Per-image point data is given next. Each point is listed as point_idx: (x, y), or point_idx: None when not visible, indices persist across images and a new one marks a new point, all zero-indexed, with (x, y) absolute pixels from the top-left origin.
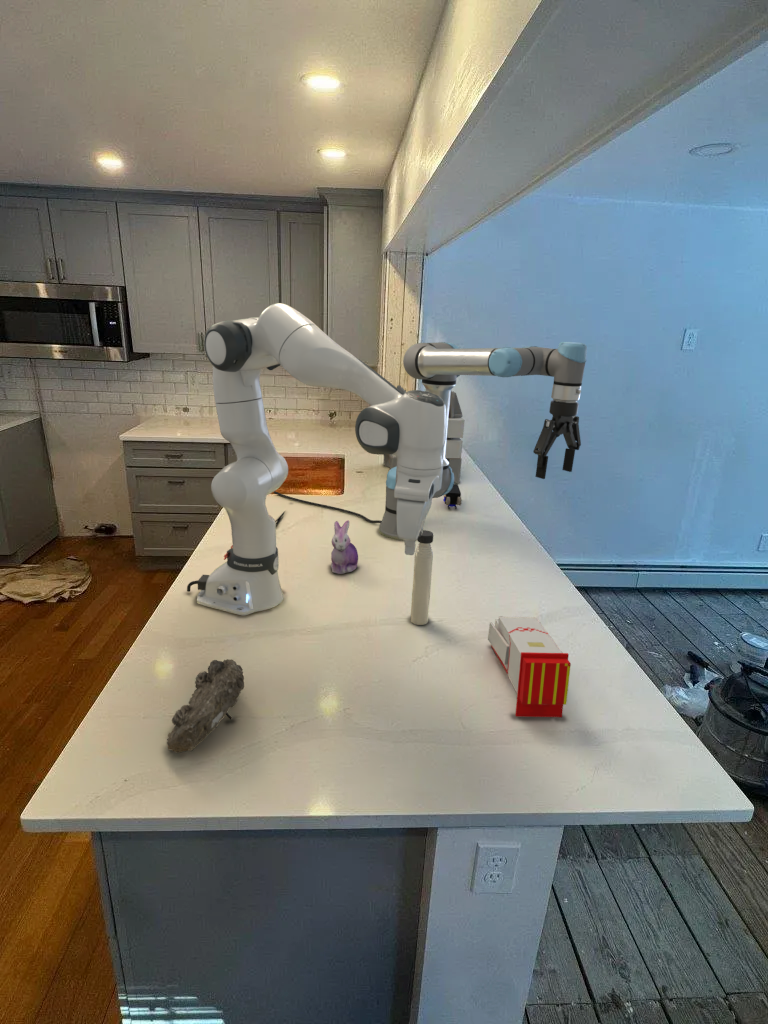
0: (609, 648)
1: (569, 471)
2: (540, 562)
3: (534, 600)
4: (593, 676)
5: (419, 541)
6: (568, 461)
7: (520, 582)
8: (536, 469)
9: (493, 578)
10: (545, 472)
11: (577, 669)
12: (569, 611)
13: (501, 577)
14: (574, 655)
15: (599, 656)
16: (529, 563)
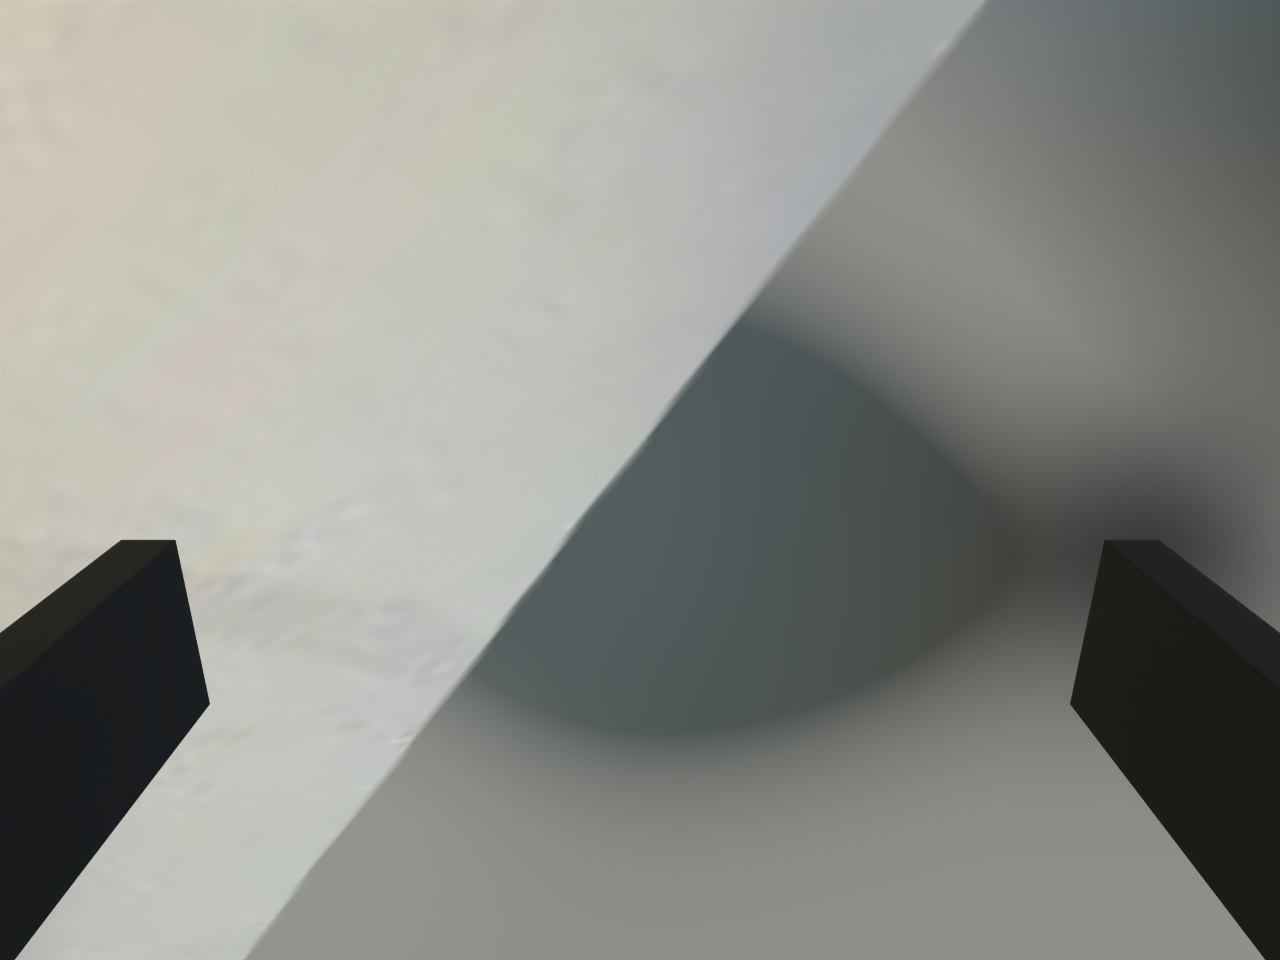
0: (290, 858)
1: (1074, 691)
2: (786, 193)
3: (324, 478)
4: (87, 901)
5: None
6: (1202, 778)
7: (423, 300)
8: (16, 622)
9: (311, 157)
10: (129, 787)
11: None
12: (393, 635)
13: (369, 180)
14: None
15: (209, 861)
16: (709, 155)
